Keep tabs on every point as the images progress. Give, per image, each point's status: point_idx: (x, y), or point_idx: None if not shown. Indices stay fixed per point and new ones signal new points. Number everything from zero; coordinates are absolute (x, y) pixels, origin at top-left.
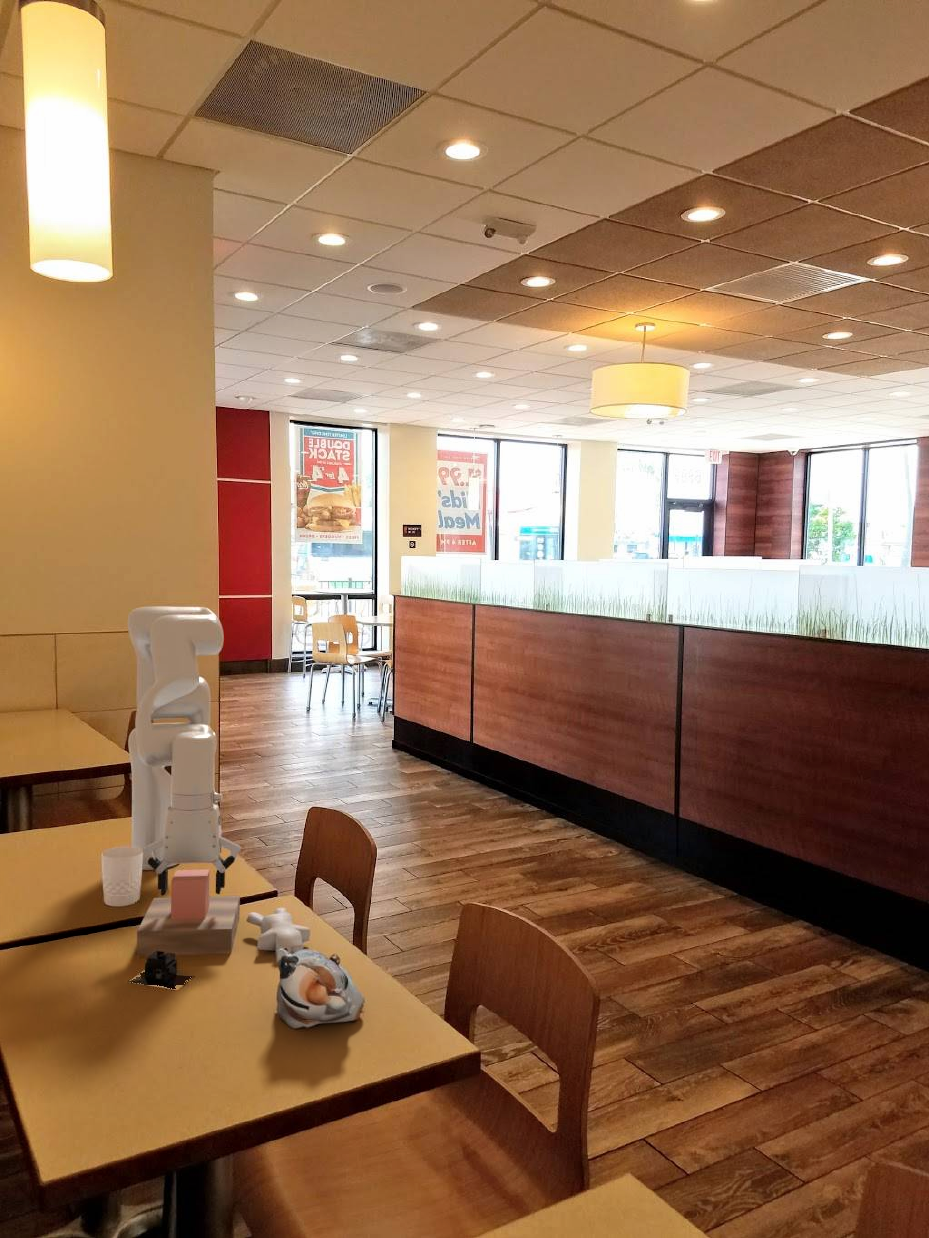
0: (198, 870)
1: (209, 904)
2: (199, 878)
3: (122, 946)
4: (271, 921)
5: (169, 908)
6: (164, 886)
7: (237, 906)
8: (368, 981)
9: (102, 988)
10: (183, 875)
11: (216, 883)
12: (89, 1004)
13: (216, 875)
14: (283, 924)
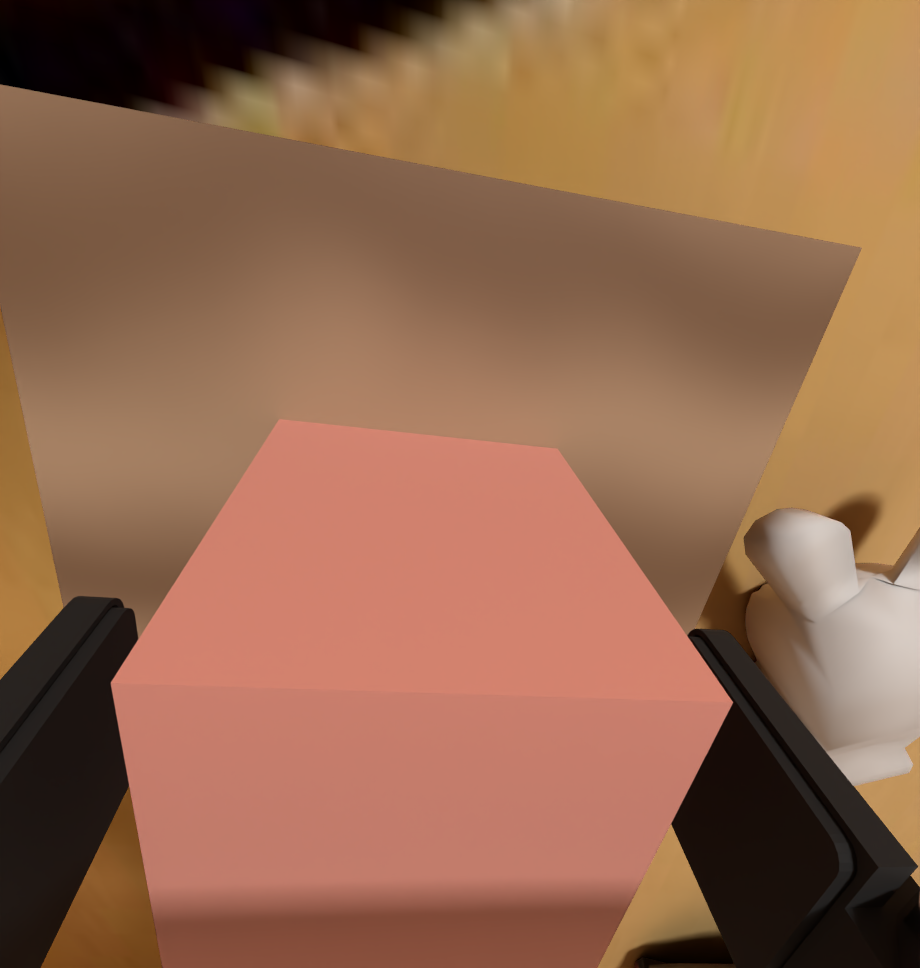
0: (543, 728)
1: (564, 413)
2: (525, 946)
3: (35, 542)
4: (845, 738)
5: (226, 445)
6: (97, 834)
7: (758, 462)
8: (916, 853)
9: (112, 853)
10: (303, 877)
11: (689, 849)
12: (110, 919)
13: (739, 962)
14: (884, 740)
